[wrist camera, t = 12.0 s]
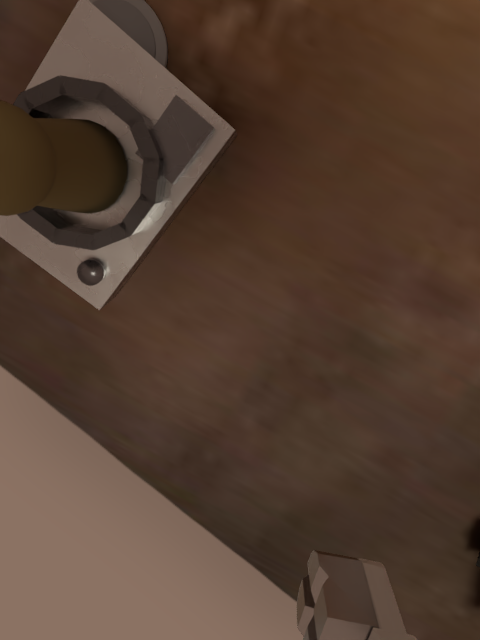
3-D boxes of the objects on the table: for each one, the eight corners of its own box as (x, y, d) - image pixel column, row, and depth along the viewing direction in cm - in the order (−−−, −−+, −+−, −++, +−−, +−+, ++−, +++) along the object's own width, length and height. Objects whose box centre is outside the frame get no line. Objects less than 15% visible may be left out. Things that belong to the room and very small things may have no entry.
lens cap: (105, -33, 30) (99, -41, 29) (187, 42, 31) (185, 36, 30) (50, 59, 32) (43, 54, 31) (130, 126, 33) (126, 124, 32)
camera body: (103, 17, 31) (65, -23, 25) (237, 135, 33) (233, 125, 27) (-11, 201, 35) (-68, 206, 29) (115, 296, 37) (87, 320, 31)
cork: (61, 99, 29) (-68, 50, 18) (142, 150, 29) (61, 130, 19) (26, 183, 31) (-110, 181, 20) (103, 230, 31) (8, 252, 21)
